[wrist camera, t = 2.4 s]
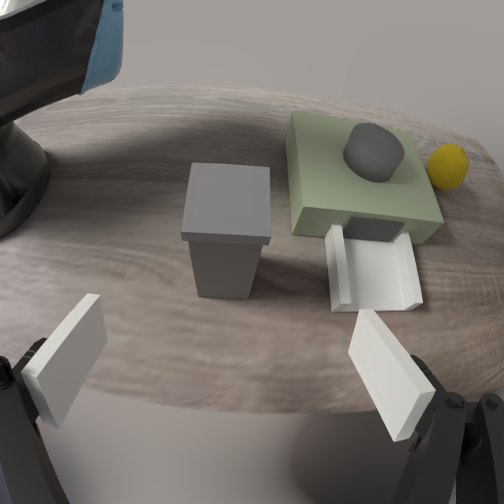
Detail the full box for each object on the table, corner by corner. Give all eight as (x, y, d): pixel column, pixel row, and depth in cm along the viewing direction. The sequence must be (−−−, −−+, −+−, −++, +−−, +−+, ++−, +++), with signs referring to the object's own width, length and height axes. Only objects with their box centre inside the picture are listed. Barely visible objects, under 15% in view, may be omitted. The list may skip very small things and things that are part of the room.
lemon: (436, 169, 40) (462, 134, 33) (454, 199, 37) (484, 165, 30) (411, 170, 39) (437, 131, 31) (429, 202, 36) (460, 164, 29)
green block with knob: (434, 309, 29) (481, 281, 22) (295, 311, 28) (321, 277, 21) (394, 157, 39) (418, 116, 32) (285, 140, 38) (297, 90, 31)
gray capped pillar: (250, 303, 28) (271, 236, 17) (195, 300, 28) (180, 231, 17) (251, 251, 30) (269, 167, 20) (199, 248, 30) (192, 162, 19)
